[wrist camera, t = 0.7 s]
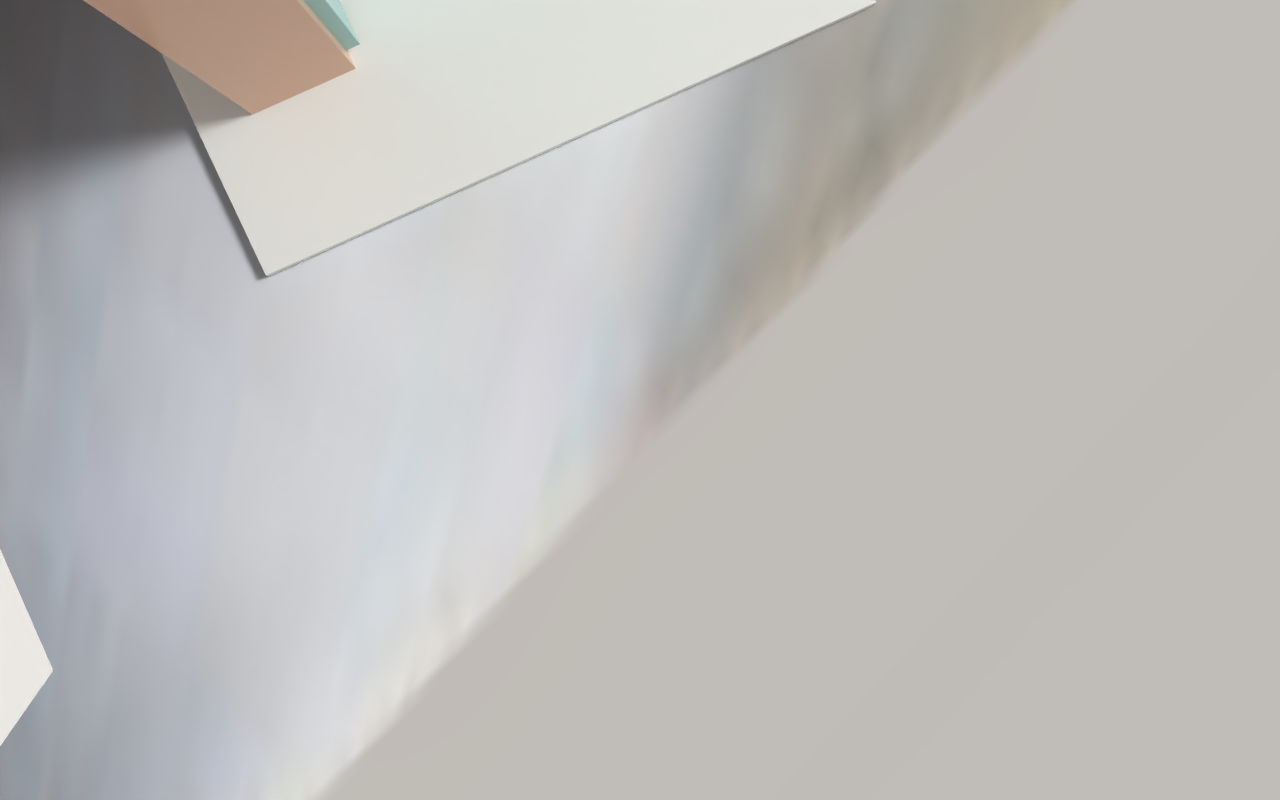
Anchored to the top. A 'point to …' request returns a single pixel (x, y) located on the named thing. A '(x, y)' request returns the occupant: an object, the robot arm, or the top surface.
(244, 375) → the top surface
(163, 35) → the block
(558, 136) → the mat
